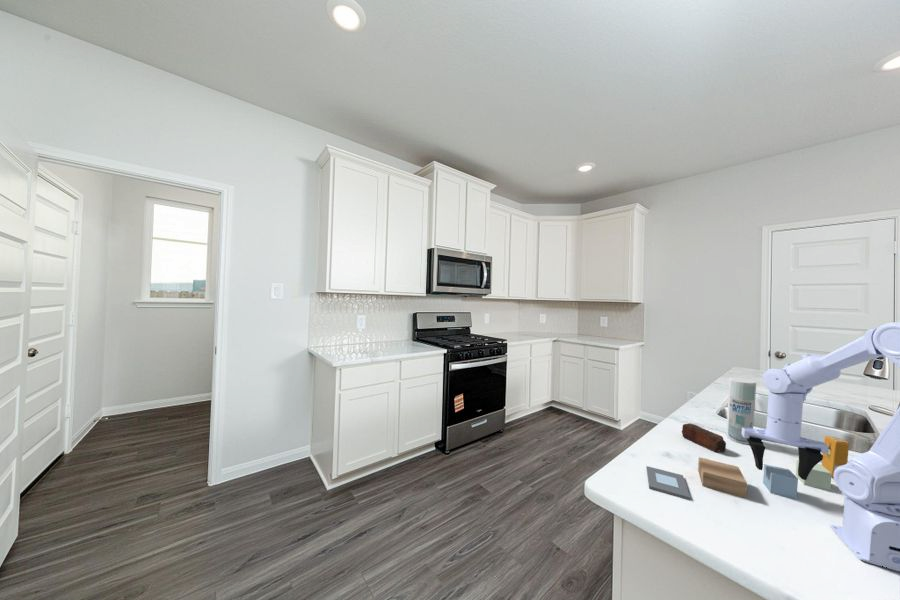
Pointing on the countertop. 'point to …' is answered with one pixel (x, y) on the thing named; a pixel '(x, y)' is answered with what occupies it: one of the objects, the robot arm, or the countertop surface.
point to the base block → (722, 477)
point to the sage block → (817, 477)
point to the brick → (703, 437)
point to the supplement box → (835, 454)
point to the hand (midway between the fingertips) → (779, 472)
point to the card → (667, 482)
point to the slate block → (780, 481)
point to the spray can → (740, 408)
